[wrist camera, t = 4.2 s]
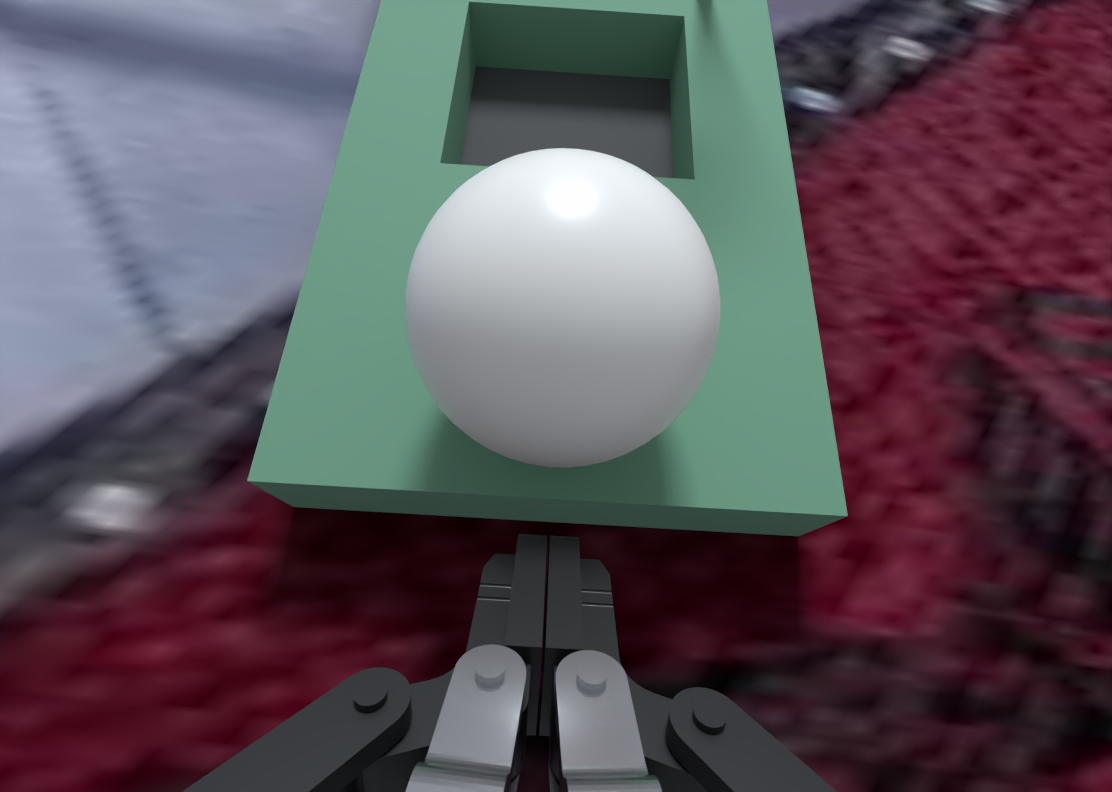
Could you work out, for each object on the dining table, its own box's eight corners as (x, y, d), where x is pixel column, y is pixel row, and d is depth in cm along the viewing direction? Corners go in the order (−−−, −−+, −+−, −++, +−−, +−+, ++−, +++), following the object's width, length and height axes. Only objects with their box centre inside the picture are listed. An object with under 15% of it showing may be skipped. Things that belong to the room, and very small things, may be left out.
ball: (398, 466, 17) (297, 334, 10) (473, 257, 20) (438, 40, 13) (658, 527, 17) (755, 437, 9) (693, 304, 20) (785, 105, 13)
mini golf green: (293, 506, 20) (-677, -42, 4) (408, 29, 30) (267, -652, 14) (798, 536, 20) (1805, 124, 4) (739, 51, 31) (963, -597, 15)
